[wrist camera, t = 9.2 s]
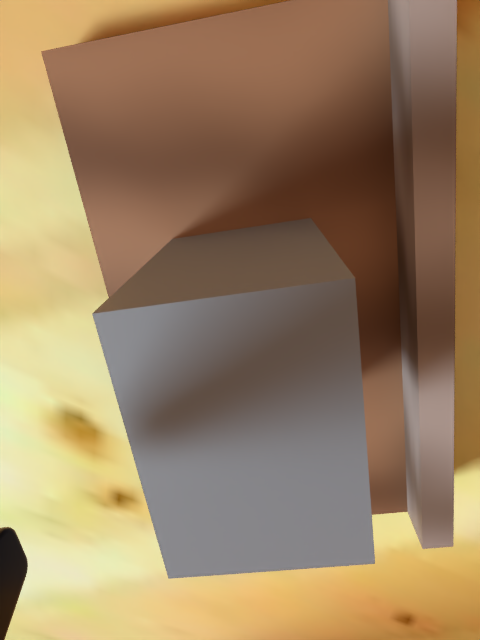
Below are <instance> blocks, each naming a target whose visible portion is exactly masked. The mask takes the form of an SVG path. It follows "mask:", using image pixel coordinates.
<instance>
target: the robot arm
mask: <svg viewBox="0 0 480 640" xmlns="http://www.w3.org/2000/svg"><path fill="white" fill-rule="evenodd" d="M27 567H28V563H27V558H26V555H25V553H24V551H23V548H22V546H21V544H20V541H19V539H18V537H17V534H16V532H15V531H14V530H13V529H12V528H9V527H3V528H0V640H4V639H5V636H6V633H7V630H8V627H9V625H10V622H11V619H12V616H13V613H14V610H15V607H16V604H17V601H18V598H19V595H20V592H21V589H22V586H23V583H24V580H25V577H26V573H27Z"/></svg>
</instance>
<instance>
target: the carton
mask: <svg viewBox="0 0 480 640" xmlns="http://www.w3.org/2000/svg"><path fill="white" fill-rule="evenodd" d="M93 318H94V321H95V325H96V328H97V332H98V335H99V339H100V342H101V346H102V349H103V353H104V356H105V359H106V363H107V366H108V370H109V373H110V377H111V380H112V384H113V387H114V391H115V394H116V398H117V401H118V405H119V408H120V411H121V415H122V418H123V422H124V425H125V429H126V432H127V436H128V439H129V443H130V446H131V450H132V453H133V457H134V460H135V464H136V467H137V470H138V474H139V477H140V481H141V484H142V488H143V491H144V495H145V498H146V502H147V505H148V509H149V512H150V516H151V519H152V523H153V526H154V529H155V533H156V536H157V540H158V543H159V547H160V550H161V554H162V557H163V561H164V564H165V568H166V571H167V575H168V578H183V577H197V576H211V575H224V574H238V573H252V572H266V571H280V570H294V569H307V568H321V567H335V566H349V565H363V564H375V556H374V542H373V527H372V513H371V499H370V484H369V470H368V456H367V441H366V427H365V413H364V398H363V384H362V369H361V355H360V341H359V326H358V312H357V298H356V283H355V277H354V276H353V274H352V273H351V272H350V270H349V269H348V268H347V266H346V265H345V264H344V262H343V261H342V259H341V258H340V257H339V255H338V254H337V253H336V251H335V250H334V249H333V247H332V246H331V245H330V243H329V242H328V241H327V239H326V238H325V237H324V235H323V234H322V232H321V231H320V230H319V228H318V227H317V226H316V224H315V223H314V222H313V220H312V219H311V218H307V219H301V220H294V221H287V222H281V223H274V224H268V225H261V226H254V227H248V228H241V229H235V230H228V231H221V232H215V233H208V234H201V235H195V236H188V237H182V238H175V239H172V240H170V241H169V242H168V243H167V244H166V245H165V246H164V247H163V248H162V249H161V250H160V251H159V252H158V253H157V254H156V255H154V256H153V257H152V258H151V259H150V260H149V261H148V262H147V263H146V264H145V265H144V266H143V267H142V268H141V269H140V270H138V271H137V272H136V273H135V274H134V275H133V276H132V277H131V278H130V279H129V280H128V281H127V282H126V283H125V284H124V285H122V286H121V287H120V288H119V289H118V290H117V291H116V292H115V293H114V294H113V295H112V296H111V297H110V298H109V299H108V300H106V301H105V302H104V303H103V304H102V305H101V306H100V307H99V308H98V309H97V310H96V311H95V312H94V313H93Z"/></svg>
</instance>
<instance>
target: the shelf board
mask: <svg viewBox="0 0 480 640" xmlns="http://www.w3.org/2000/svg"><path fill="white" fill-rule="evenodd" d="M41 52H42V56H43V60H44V63H45V67H46V71H47V74H48V78H49V81H50V85H51V89H52V92H53V96H54V100H55V103H56V107H57V111H58V114H59V118H60V122H61V125H62V129H63V132H64V136H65V140H66V143H67V147H68V151H69V154H70V158H71V162H72V165H73V169H74V172H75V176H76V180H77V183H78V187H79V191H80V194H81V198H82V202H83V205H84V209H85V213H86V216H87V220H88V223H89V227H90V231H91V234H92V238H93V242H94V245H95V249H96V253H97V256H98V260H99V263H100V267H101V271H102V274H103V278H104V282H105V285H106V289H107V293H108V296H109V298H110V297H111V296H112V295H113V294H114V293H115V292H116V291H117V290H118V289H119V288H120V287H121V286H122V285H124V284H125V283H126V282H127V281H128V280H129V279H130V278H131V277H132V276H133V275H134V274H135V273H136V272H137V271H138V270H140V269H141V268H142V267H143V266H144V265H145V264H146V263H147V262H148V261H149V260H150V259H151V258H152V257H153V256H154V255H156V254H157V253H158V252H159V251H160V250H161V249H162V248H163V247H164V246H165V245H166V244H167V243H168V242H169V241H170V240H172V239H175V238H182V237H188V236H195V235H201V234H208V233H215V232H221V231H228V230H235V229H241V228H248V227H254V226H261V225H268V224H274V223H281V222H287V221H294V220H301V219H307V218H311V219H312V220H313V222H314V223H315V224H316V226H317V227H318V228H319V230H320V231H321V232H322V234H323V235H324V237H325V238H326V239H327V241H328V242H329V243H330V245H331V246H332V247H333V249H334V250H335V251H336V253H337V254H338V255H339V257H340V258H341V259H342V261H343V262H344V264H345V265H346V266H347V268H348V269H349V270H350V272H351V273H352V274H353V276H354V277H355V283H356V298H357V312H358V326H359V341H360V355H361V369H362V384H363V398H364V413H365V427H366V441H367V456H368V470H369V484H370V499H371V513H372V515H373V514H384V513H396V512H408V514H409V516H410V519H411V521H412V524H413V526H414V529H415V531H416V534H417V536H418V539H419V541H420V543H421V546H422V548H423V549H427V548H440V547H452V546H453V517H454V365H455V214H456V62H457V0H290V1H285V2H280V3H275V4H270V5H265V6H260V7H256V8H251V9H246V10H241V11H236V12H231V13H226V14H221V15H217V16H212V17H207V18H202V19H197V20H192V21H187V22H183V23H178V24H173V25H168V26H163V27H158V28H153V29H148V30H144V31H139V32H134V33H129V34H124V35H119V36H114V37H109V38H105V39H100V40H95V41H90V42H85V43H80V44H75V45H70V46H66V47H61V48H56V49H51V50H46V51H41Z"/></svg>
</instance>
